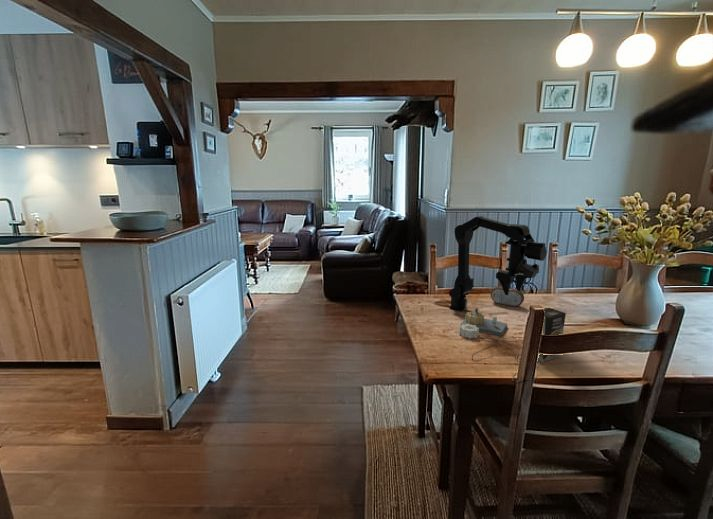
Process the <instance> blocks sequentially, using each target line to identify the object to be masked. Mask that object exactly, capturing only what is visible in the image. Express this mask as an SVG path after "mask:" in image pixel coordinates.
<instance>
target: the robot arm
mask: <svg viewBox="0 0 713 519" xmlns="http://www.w3.org/2000/svg"><path fill="white" fill-rule="evenodd" d="M479 228H484V229H487V230H491V231H495V232H498V233H500V234H503V235H504V236H506V237H507V238H509V239H508V240H507V241H506V242H504V243H505V245H510V246H509V255H508V256H509V257H507V258H506V261H507V262H508V265H507V267H505V270H503V269H502V270H499V271H497V272H496V273H495V279H497V281H498V282H499V283H500V286H501V287H502V288H503V291H504V293H505V295H508V294H509V290H510V288H511V285H512V284H513V283H514V282H515V286H516V289H517V291H522V288H523V285H524V284H525V281H526V280H527V279H532V278H536V276H537V274H539V273H540V265H539V264H538V263H534V264H529V263H528V260H529V259H531V260H536V261H541V262H543V261H544V260H545V259H546V257H547V255H548V251H547V247H546V243H545V242H535V240H534V238H533V236H532V234H531V231H530V228H529V226H527V225H525V224H518V223H505V222H502V221H499V220H495V219H491V218H487V217H484V216H483V215H481V216H474V217H473V218H471V219H470V220H468V221H466V222H464V223H463V224H458V225H456V227H455V228H454V237H455V241H456V242H457V244H458V245H457V250H458V251H457V255H458V256H457V276H456V277H455V280H454V284H453V288H452V289H450V290H449V291H448V295H449V297H450V306H449V309H450V310H456V311H461V312H463V311H465V309H467V306H468V299H467V296H469V294H470V293H471V292H472V290H473V288H474V278H471V276H470V270H469V269H470V245H471V241H472V239H473V238H474V236H473V235H474V233H475V231H477V230H478V229H479ZM525 257H526V258H527V259H528V260H527V259H526V258H525Z"/></svg>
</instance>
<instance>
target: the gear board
mask: <svg viewBox="0 0 713 519" xmlns="http://www.w3.org/2000/svg"><path fill="white" fill-rule="evenodd" d="M497 319H498V318H497V316H492V319H487V318H485V314H482V313H481V312H479V308H477V307H475V310H474V311H467V312H466V313H465V319H463V321H462V322H461V323H460V326H461V325H462V324H463V325H466V324H470V325H475V326H476V327H477V328H479V333H480V332H481V333H485V334H489V335H494V336H499V337H502V335H503V334H504V332H505V331H506V329H507V327H508V323H506V322H503V321H498V320H497Z"/></svg>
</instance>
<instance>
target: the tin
mask: <svg viewBox="0 0 713 519" xmlns="http://www.w3.org/2000/svg"><path fill="white" fill-rule="evenodd" d="M490 297H491V300H492V301H493V302H494V303H495V304H498V303H499V304H498V305H503V304H504V305H505V306H509V307H519V306H521V305H522V304H523V302H524V300H525V294H524V293H523V291H522V290H520V291H517V288H512V287H510V290H509V294H508V295H505V293H504V291H503V288H502V286H501V285H500V286H499V285H498V286H495V287H494V288H492V289H491V292H490ZM504 305H503V306H504Z"/></svg>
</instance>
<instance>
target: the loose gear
mask: <svg viewBox="0 0 713 519" xmlns="http://www.w3.org/2000/svg"><path fill="white" fill-rule="evenodd" d="M458 329H459V330H458V331H459V332H458V334H459V335H460V336H461V337H462V338H466V339H467V338H468V339H471V340H472V339H473V338H474V339H476V338H478V336H479V334H480V331H479V328H477V327H476V326H475V325H470V324H466V325H463V324H462V325H461V324H460V326H459V328H458Z"/></svg>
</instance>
